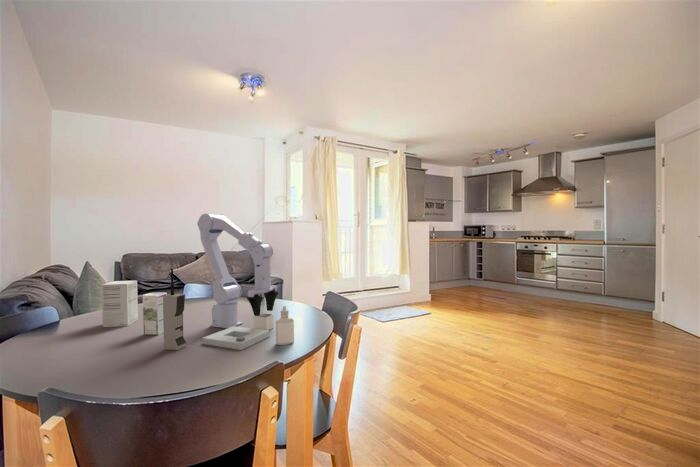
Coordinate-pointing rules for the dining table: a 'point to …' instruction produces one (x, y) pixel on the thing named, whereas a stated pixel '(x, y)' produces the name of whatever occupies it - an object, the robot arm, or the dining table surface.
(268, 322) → the plug block
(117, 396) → the dining table surface
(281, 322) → the eye dropper bottle
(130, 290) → the supplement box
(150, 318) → the syrup box
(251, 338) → the socket plate
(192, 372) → the dining table surface
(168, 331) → the vintage mobile phone
